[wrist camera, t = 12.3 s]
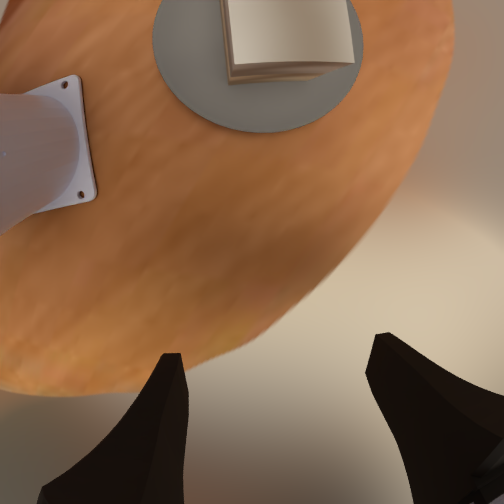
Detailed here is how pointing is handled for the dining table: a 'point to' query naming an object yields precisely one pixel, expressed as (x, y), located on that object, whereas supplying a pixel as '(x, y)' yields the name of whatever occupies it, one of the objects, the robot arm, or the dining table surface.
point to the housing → (284, 39)
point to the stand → (242, 95)
